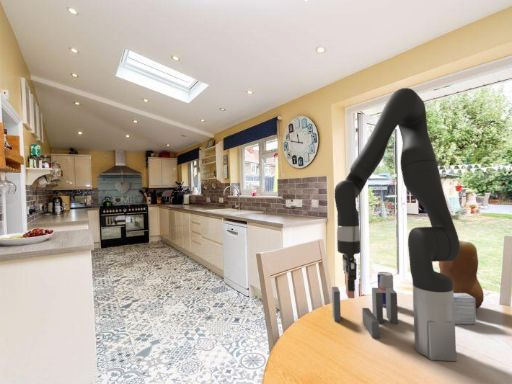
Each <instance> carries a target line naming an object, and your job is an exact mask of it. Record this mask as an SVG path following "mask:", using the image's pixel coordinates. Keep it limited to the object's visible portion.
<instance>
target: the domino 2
mask: <svg viewBox="0 0 512 384" xmlns="http://www.w3.org/2000/svg"><path fill="white" fill-rule="evenodd" d="M347 270H348V268H347ZM350 276H353V274H350ZM345 278H346V285H345V294H346V296H347V299H355V291H348V281H347V273H346V272H345V274H344V279H345Z"/></svg>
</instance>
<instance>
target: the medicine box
mask: <svg viewBox="0 0 512 384" xmlns="http://www.w3.org/2000/svg"><path fill="white" fill-rule="evenodd" d="M453 298H454V324H455V325H476V324H477V320H476V319H477V318H476V312H477V311H476V310H477V309H475V298H474V297H472V296H470V295H469V294H467V293H453Z"/></svg>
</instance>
